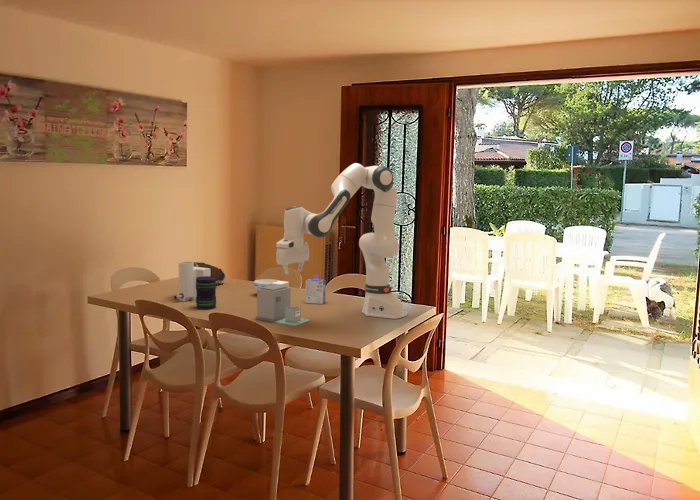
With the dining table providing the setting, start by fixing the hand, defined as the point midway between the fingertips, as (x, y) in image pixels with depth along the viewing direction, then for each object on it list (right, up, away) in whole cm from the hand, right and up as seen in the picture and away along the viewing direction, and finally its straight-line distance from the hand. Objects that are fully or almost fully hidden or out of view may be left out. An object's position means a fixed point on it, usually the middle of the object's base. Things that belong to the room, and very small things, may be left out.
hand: (293, 272), depth 269 cm
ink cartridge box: (+7, -18, +45) cm, 49 cm away
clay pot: (-59, -11, +84) cm, 103 cm away
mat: (0, -23, +3) cm, 23 cm away
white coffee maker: (-60, -16, +45) cm, 77 cm away
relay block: (0, -22, +3) cm, 22 cm away
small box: (-10, -19, +31) cm, 38 cm away
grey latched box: (-10, -22, +10) cm, 26 cm away
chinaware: (-20, -15, +61) cm, 66 cm away
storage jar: (-46, -19, +28) cm, 57 cm away
